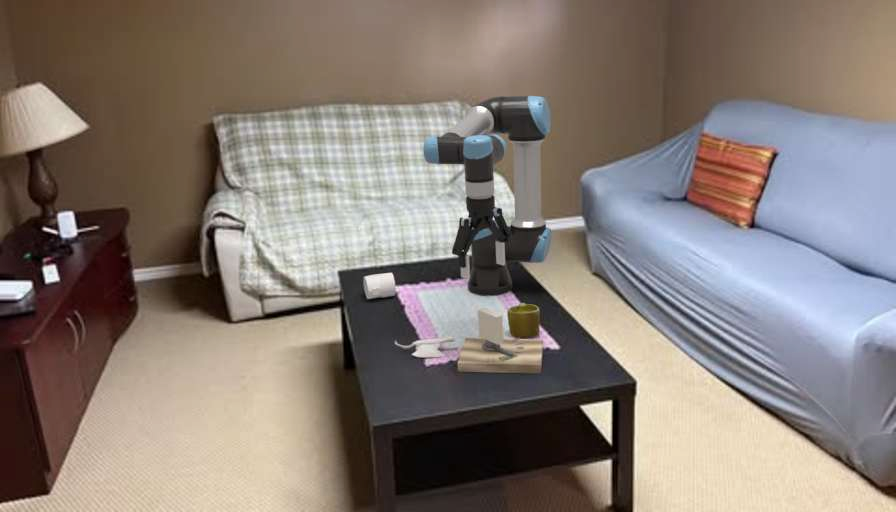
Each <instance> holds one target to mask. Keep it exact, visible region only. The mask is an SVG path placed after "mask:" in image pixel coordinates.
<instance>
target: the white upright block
mask: <svg viewBox="0 0 896 512" xmlns="http://www.w3.org/2000/svg"><path fill="white" fill-rule="evenodd" d="M503 316H504V315H503V314H501V313H498V312H496V311H494V310H490V309H489V308H486V307H481V308H478V309H477V318H478V320H477V323H478V325H477V326H478V338H484V339H486V343H485V344H483V345H482V349H483V350H485V351H497V350H499V351H501V352H504V353H506V354H508V355H510V356H512V355H514V353H512V352H510V351H507V350H505V349H503V348H501V347H500V343H503V339H504V324H503V323H504V321H503V319H504V318H503Z"/></svg>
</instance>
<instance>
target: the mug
mask: <svg viewBox="0 0 896 512" xmlns="http://www.w3.org/2000/svg"><path fill="white" fill-rule="evenodd" d="M540 312H541V311H540V307H539V306H537V305H535V304H529V303H527V304H526V303H525V302H521V303H519V304H517V305H512V306H510V307H509V308H507V312H506V315H507V323H508V328H509V332H510V335H511V336H512V337H513V338H514V339H516V338H518V339H528V338H529V339H530V338H534V337H538V336H539V334H540V329H541V328H540V316H541V314H540Z"/></svg>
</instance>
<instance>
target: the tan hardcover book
mask: <svg viewBox="0 0 896 512" xmlns="http://www.w3.org/2000/svg"><path fill="white" fill-rule="evenodd" d="M485 343H486V339H484V338H481V337H473V338H472V337H465V338H464V342H463V345H462V348H461V351H460V354H459V357H458V360H457V372H464V373H465V372H466V373H468V372H469V373H496V374H497V373H498V374H499V373H502V374H504V373H506V374H507V373H509V374H538V375H541V373H542V367H543V366H542V364H543V356H544V355H543V354H544V353H543V352H544V339H537V338H536V339H534V338H532V339H531V338H529V339H528V338H503V343H500V347H501V348H503V349H505V350H507V351H510V352H512V353H514V355H512V356H510V355H508V354H506V353H504V352H501V351H499V350H497V351H485V350H483V349H482V345H483V344H485Z"/></svg>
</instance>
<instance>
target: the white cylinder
mask: <svg viewBox="0 0 896 512" xmlns="http://www.w3.org/2000/svg"><path fill="white" fill-rule="evenodd" d="M363 289H364V294H365V296H366V299H367V300H372V299H377V298H388V297H395V296H396V281H395V277H394V274H393V272H386V273H377V274H370V275H365V276H363Z"/></svg>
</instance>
